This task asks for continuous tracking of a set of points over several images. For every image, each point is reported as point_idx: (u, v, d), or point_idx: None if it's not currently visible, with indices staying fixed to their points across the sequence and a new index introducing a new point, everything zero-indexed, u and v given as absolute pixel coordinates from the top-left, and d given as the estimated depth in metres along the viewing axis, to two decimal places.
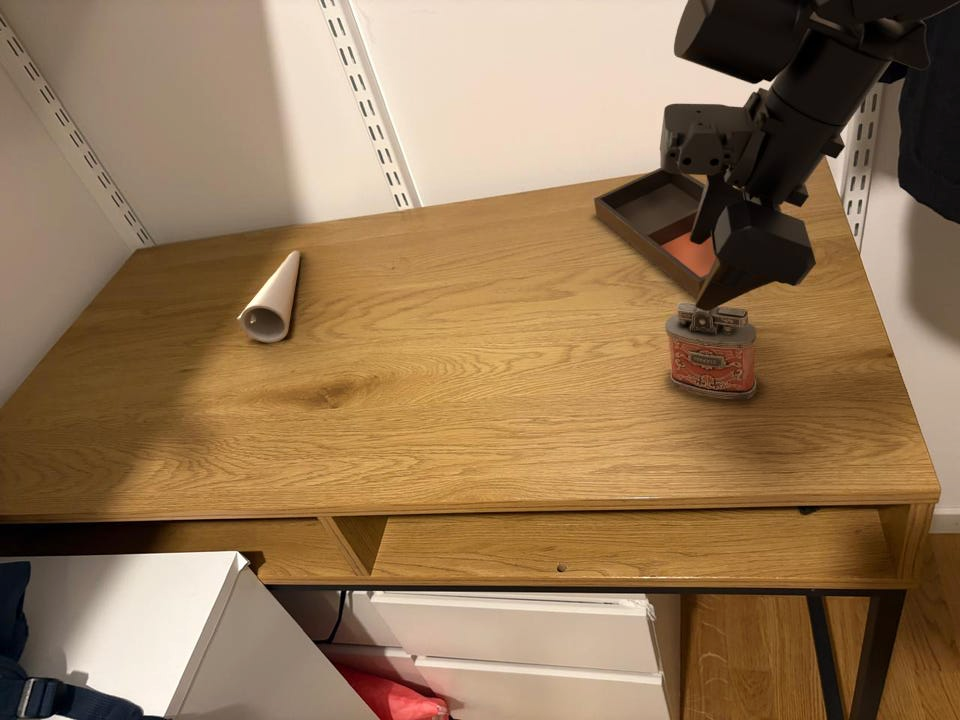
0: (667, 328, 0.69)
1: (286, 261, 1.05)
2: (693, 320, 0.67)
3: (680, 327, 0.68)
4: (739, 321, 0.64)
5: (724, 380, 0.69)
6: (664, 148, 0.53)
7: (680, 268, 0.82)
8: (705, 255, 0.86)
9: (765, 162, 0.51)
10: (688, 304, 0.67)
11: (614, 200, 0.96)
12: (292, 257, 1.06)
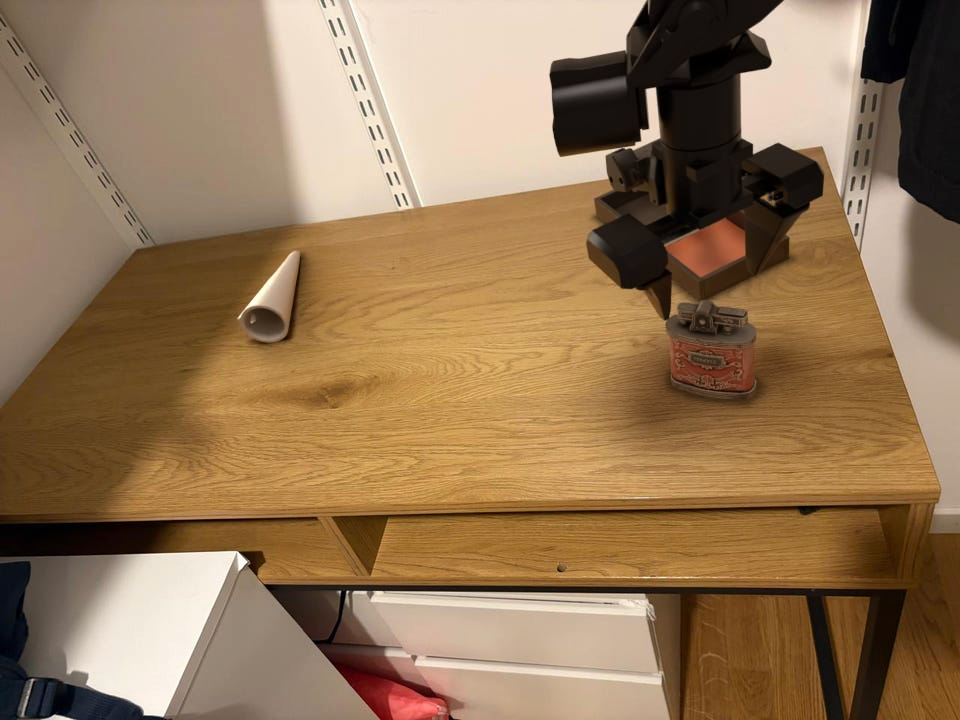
0: (667, 328, 0.69)
1: (286, 261, 1.05)
2: (693, 320, 0.67)
3: (680, 327, 0.68)
4: (739, 321, 0.64)
5: (724, 380, 0.69)
6: None
7: (680, 268, 0.82)
8: (705, 255, 0.86)
9: (664, 184, 0.58)
10: (688, 304, 0.67)
11: (614, 200, 0.96)
12: (292, 257, 1.06)
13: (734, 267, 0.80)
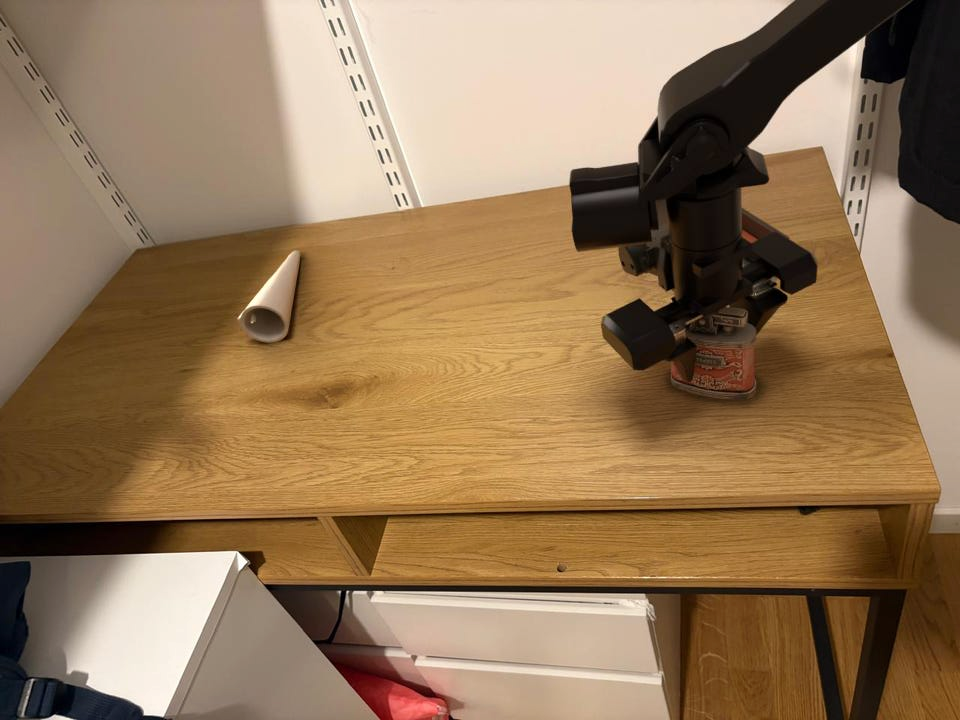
0: None
1: (286, 261, 1.05)
2: None
3: None
4: (739, 321, 0.64)
5: (724, 380, 0.69)
6: None
7: None
8: None
9: (672, 273, 0.63)
10: None
11: None
12: (292, 257, 1.06)
13: None
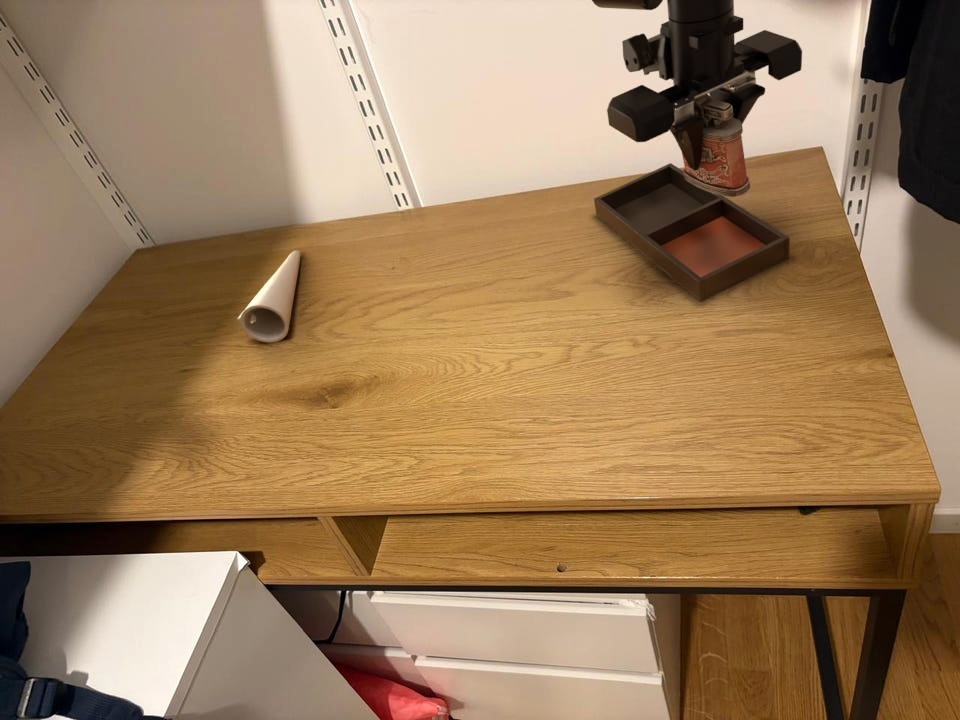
0: None
1: (286, 261, 1.05)
2: None
3: None
4: (721, 114, 0.71)
5: (715, 174, 0.76)
6: None
7: (680, 268, 0.82)
8: (705, 255, 0.86)
9: (671, 58, 0.71)
10: None
11: (614, 200, 0.96)
12: (292, 257, 1.06)
13: (734, 267, 0.80)
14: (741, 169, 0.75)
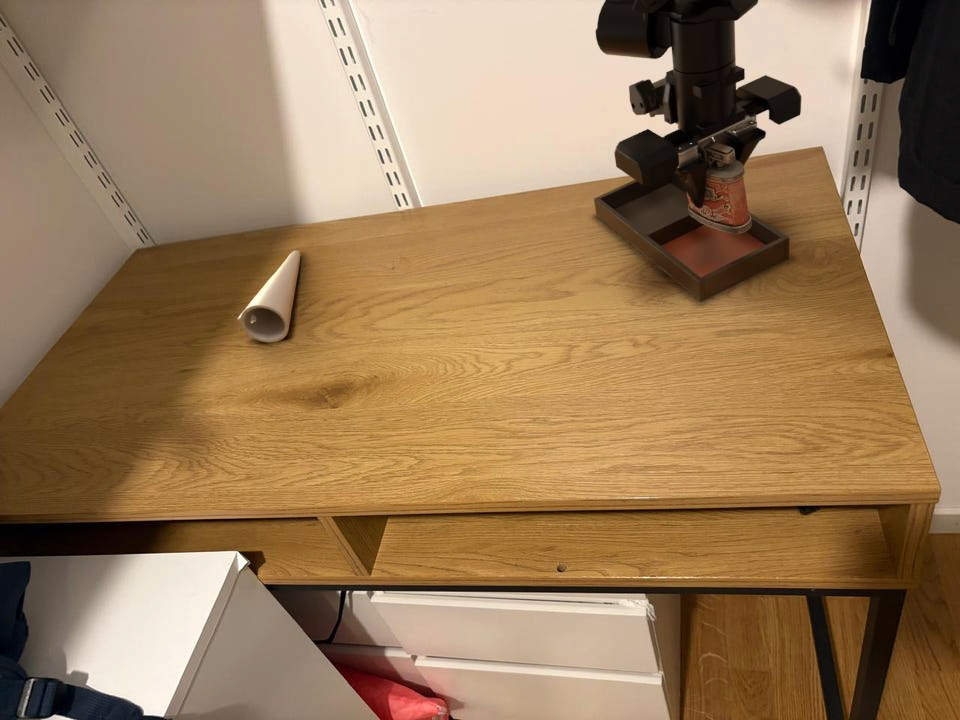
0: None
1: (286, 261, 1.05)
2: None
3: None
4: (724, 157, 0.74)
5: (718, 212, 0.80)
6: None
7: (680, 268, 0.82)
8: (705, 255, 0.86)
9: (676, 105, 0.74)
10: None
11: (614, 200, 0.96)
12: (292, 257, 1.06)
13: (734, 267, 0.80)
14: (743, 208, 0.78)
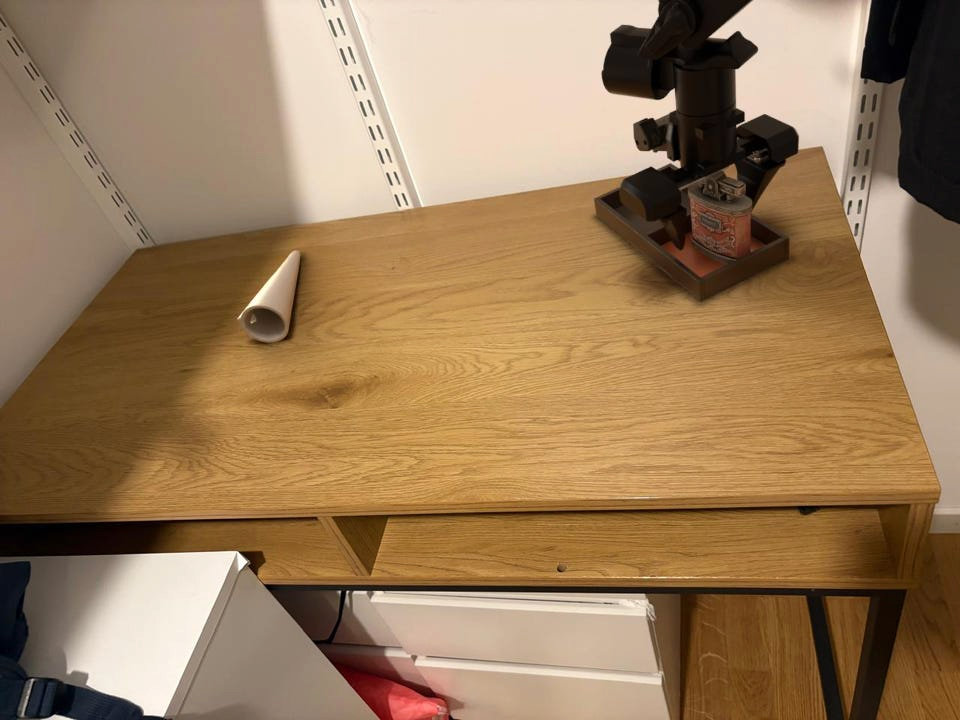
0: (688, 188, 0.83)
1: (286, 261, 1.05)
2: (705, 184, 0.80)
3: (698, 189, 0.82)
4: (735, 191, 0.77)
5: (722, 244, 0.82)
6: None
7: (680, 268, 0.82)
8: (705, 255, 0.86)
9: (678, 143, 0.77)
10: None
11: (614, 200, 0.96)
12: (292, 257, 1.06)
13: (734, 267, 0.80)
14: (746, 242, 0.81)
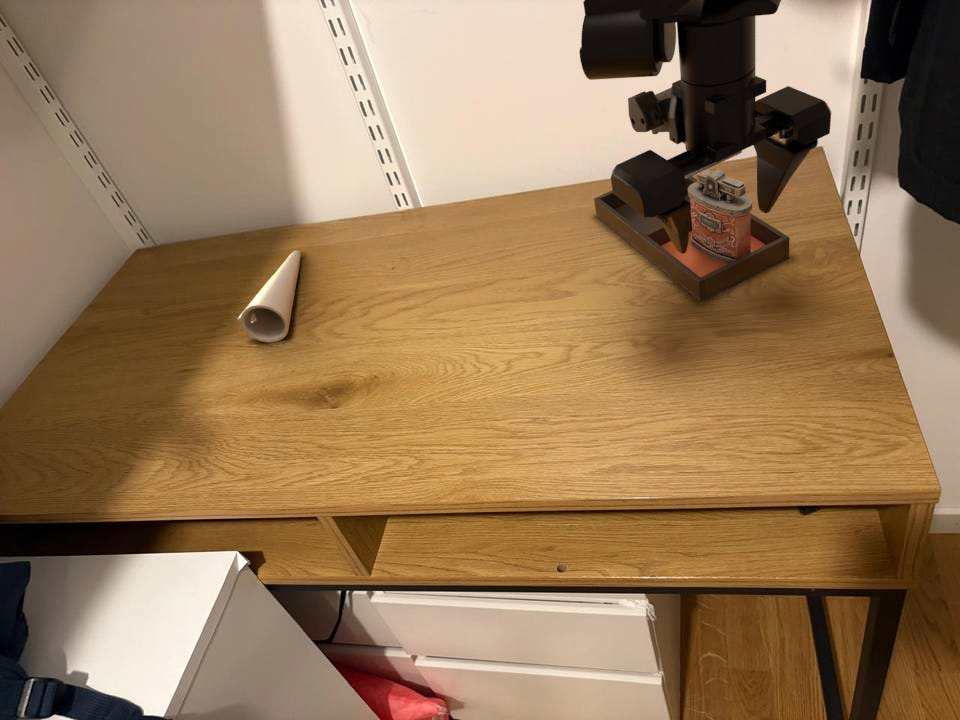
0: (688, 188, 0.83)
1: (287, 261, 1.05)
2: (705, 184, 0.80)
3: (698, 189, 0.82)
4: (735, 191, 0.77)
5: (722, 244, 0.82)
6: None
7: (680, 268, 0.82)
8: (705, 255, 0.86)
9: (683, 121, 0.62)
10: (707, 171, 0.81)
11: (614, 200, 0.96)
12: (293, 257, 1.06)
13: (734, 267, 0.80)
14: (746, 242, 0.81)
